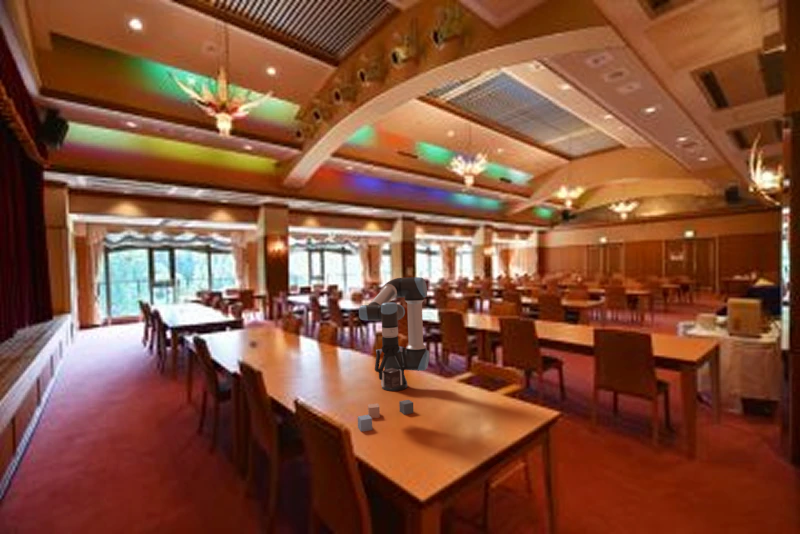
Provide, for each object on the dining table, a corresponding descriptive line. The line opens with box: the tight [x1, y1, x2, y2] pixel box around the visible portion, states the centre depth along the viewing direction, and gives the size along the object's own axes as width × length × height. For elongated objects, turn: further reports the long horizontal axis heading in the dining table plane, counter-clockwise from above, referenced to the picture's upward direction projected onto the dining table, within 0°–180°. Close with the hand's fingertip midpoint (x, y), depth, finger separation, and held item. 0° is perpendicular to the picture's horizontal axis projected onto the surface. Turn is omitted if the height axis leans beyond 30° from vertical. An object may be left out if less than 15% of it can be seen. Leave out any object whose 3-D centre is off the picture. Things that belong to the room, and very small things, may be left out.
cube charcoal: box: [398, 399, 415, 416], centre depth 184 cm, size 5×5×5 cm
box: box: [382, 368, 401, 389], centre depth 176 cm, size 6×6×7 cm
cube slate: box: [357, 414, 373, 433], centre depth 166 cm, size 5×5×5 cm
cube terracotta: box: [367, 403, 381, 419], centre depth 180 cm, size 5×5×5 cm
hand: (391, 385), depth 176 cm, fingers closed on box, 8 cm apart
